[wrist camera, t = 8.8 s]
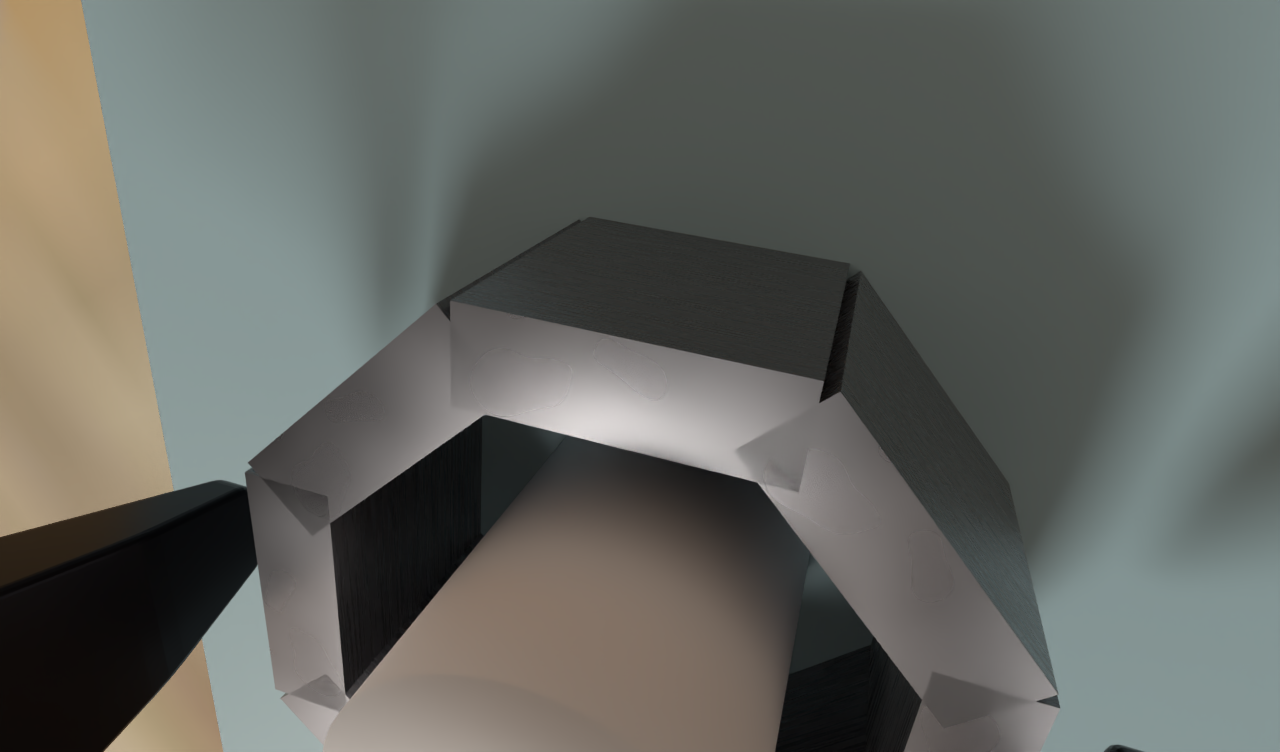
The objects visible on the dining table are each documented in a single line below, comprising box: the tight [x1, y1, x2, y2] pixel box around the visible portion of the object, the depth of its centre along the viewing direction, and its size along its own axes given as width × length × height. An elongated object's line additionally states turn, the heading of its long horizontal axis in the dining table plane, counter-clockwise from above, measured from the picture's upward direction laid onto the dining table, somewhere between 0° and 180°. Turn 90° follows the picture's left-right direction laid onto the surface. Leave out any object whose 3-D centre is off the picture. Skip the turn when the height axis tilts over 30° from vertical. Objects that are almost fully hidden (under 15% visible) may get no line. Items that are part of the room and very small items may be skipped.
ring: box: [245, 217, 1060, 752], centre depth 8 cm, size 7×7×3 cm
